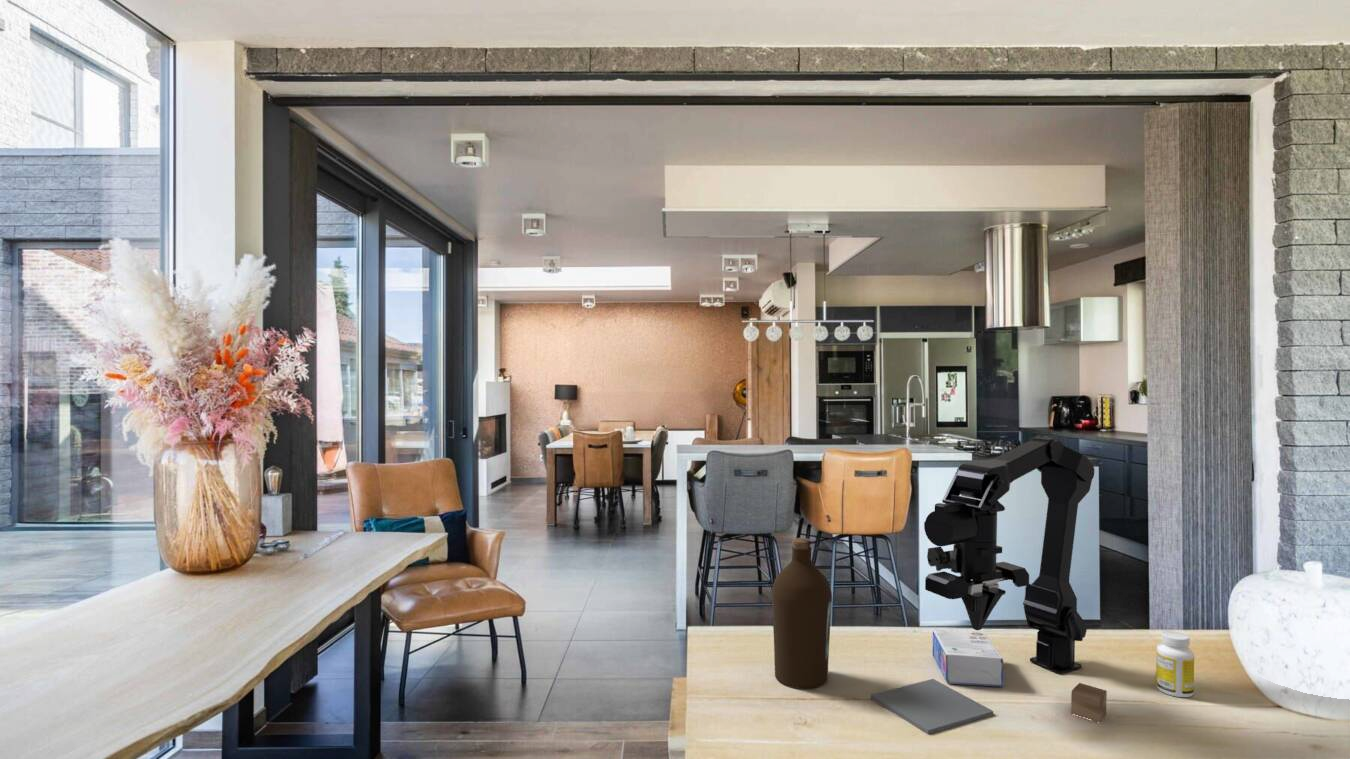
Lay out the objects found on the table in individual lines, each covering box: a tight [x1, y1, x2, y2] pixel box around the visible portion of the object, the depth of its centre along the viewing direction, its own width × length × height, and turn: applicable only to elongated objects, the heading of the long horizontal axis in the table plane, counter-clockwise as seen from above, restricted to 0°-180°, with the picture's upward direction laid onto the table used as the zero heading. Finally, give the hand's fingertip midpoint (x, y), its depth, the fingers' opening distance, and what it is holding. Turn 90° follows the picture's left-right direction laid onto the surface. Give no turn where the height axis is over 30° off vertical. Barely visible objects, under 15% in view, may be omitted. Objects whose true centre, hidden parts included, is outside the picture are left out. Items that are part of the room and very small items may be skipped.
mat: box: [870, 678, 994, 735], centre depth 120 cm, size 14×13×1 cm
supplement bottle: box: [1155, 630, 1195, 698], centre depth 126 cm, size 5×5×10 cm
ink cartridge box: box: [932, 629, 1004, 688], centre depth 135 cm, size 10×6×14 cm
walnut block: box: [1070, 682, 1108, 723], centre depth 118 cm, size 4×4×4 cm
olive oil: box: [771, 537, 833, 690], centre depth 131 cm, size 11×11×25 cm
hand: (976, 629), depth 125 cm, fingers closed
